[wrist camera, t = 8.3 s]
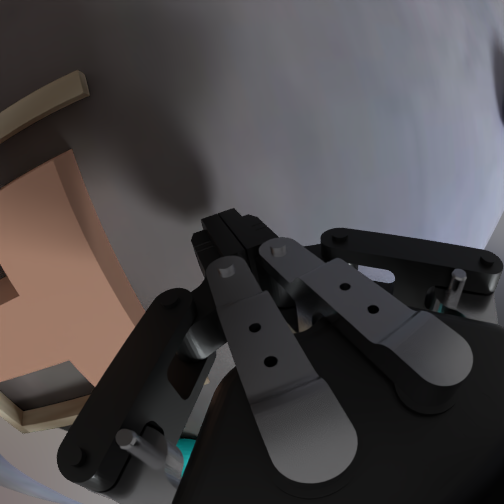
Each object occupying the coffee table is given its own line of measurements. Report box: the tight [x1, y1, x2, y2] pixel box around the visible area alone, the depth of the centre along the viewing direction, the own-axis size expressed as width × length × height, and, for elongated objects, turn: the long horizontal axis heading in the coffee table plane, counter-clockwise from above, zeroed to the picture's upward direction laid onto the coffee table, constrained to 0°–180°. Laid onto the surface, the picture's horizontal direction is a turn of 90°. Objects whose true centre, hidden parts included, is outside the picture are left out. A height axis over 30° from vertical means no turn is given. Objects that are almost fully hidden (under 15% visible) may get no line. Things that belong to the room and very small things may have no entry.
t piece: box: [0, 149, 145, 387], centre depth 10 cm, size 12×12×3 cm
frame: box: [0, 70, 210, 433], centre depth 11 cm, size 18×17×2 cm
